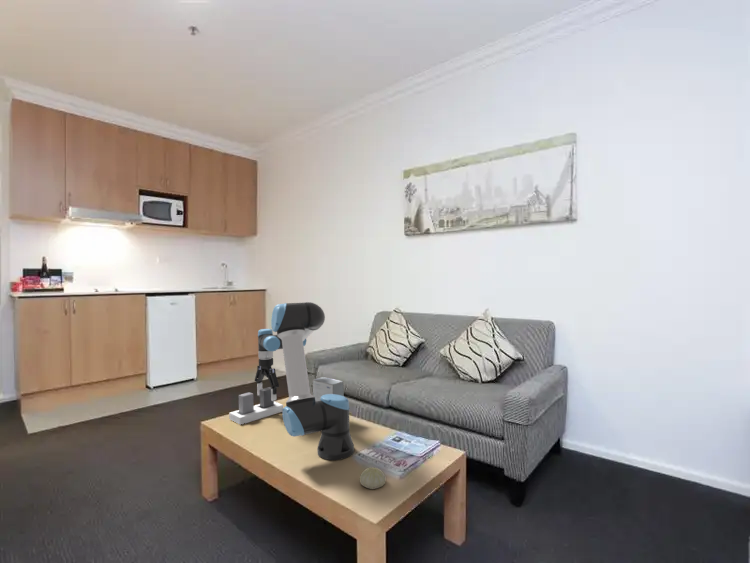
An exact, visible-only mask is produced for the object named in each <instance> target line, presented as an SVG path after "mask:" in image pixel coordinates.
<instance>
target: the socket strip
mask: <svg viewBox="0 0 750 563" xmlns="http://www.w3.org/2000/svg"><path fill="white" fill-rule="evenodd" d="M254 404H255V403H254V393H252V392H245V393H241V394H238V410H234V411H231V412H228V413H229V414H228V415H229V418H228V420H229V419H230V420H229V421H231V420H232V421H231V422H233V421H234V423H235V422H236V424H237V423H238V424H237V425H239V424H240V426H241V424H242V425H245V424H248V423H250V422H254V421H257V420H260V419H263V418H267V417H269V416H272V415H275V414H279V413H282V411H283V408H284V404H282V403H279V402H278V401H276V400H274V406H271V407H268V408H265V409H262V408H260V403H258V404H255V405H254ZM244 423H245V424H244Z"/></svg>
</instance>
